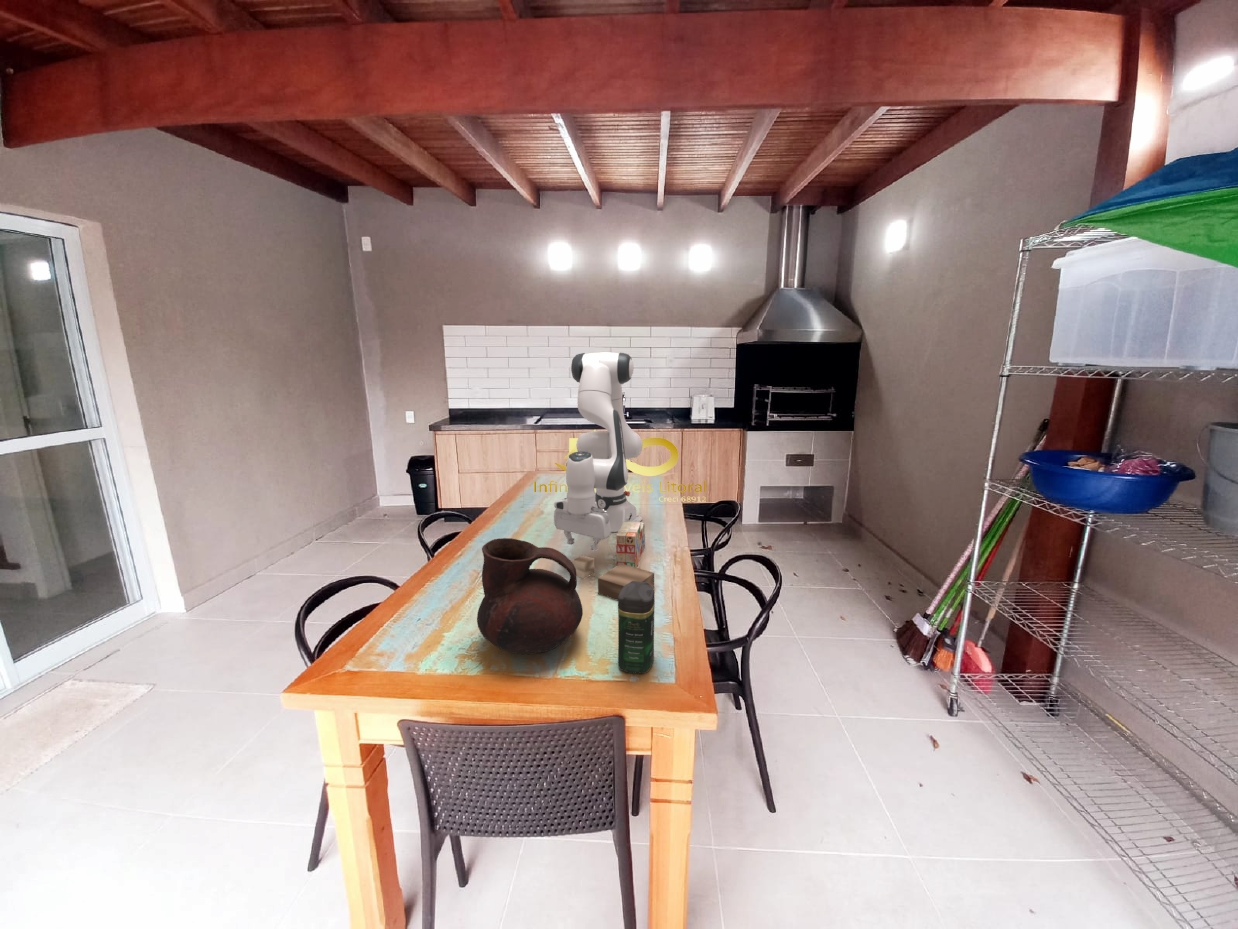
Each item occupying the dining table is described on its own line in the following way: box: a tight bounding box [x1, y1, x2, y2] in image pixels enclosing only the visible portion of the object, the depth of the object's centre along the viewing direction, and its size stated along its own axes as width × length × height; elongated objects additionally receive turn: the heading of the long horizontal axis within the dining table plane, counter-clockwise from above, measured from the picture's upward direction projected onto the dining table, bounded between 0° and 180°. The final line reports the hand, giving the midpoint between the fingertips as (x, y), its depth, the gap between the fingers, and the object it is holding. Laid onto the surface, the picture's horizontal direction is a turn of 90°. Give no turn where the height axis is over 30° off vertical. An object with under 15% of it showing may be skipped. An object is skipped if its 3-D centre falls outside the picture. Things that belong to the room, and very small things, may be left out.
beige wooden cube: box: [571, 554, 595, 579], centre depth 156 cm, size 5×5×5 cm
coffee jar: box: [617, 581, 656, 675], centre depth 110 cm, size 10×8×19 cm
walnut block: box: [597, 564, 655, 601], centre depth 144 cm, size 12×12×5 cm
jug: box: [476, 537, 584, 655], centre depth 118 cm, size 25×25×25 cm
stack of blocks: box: [615, 521, 646, 568], centre depth 167 cm, size 21×6×12 cm, turn 169°
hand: (582, 546), depth 154 cm, fingers open, 8 cm apart
